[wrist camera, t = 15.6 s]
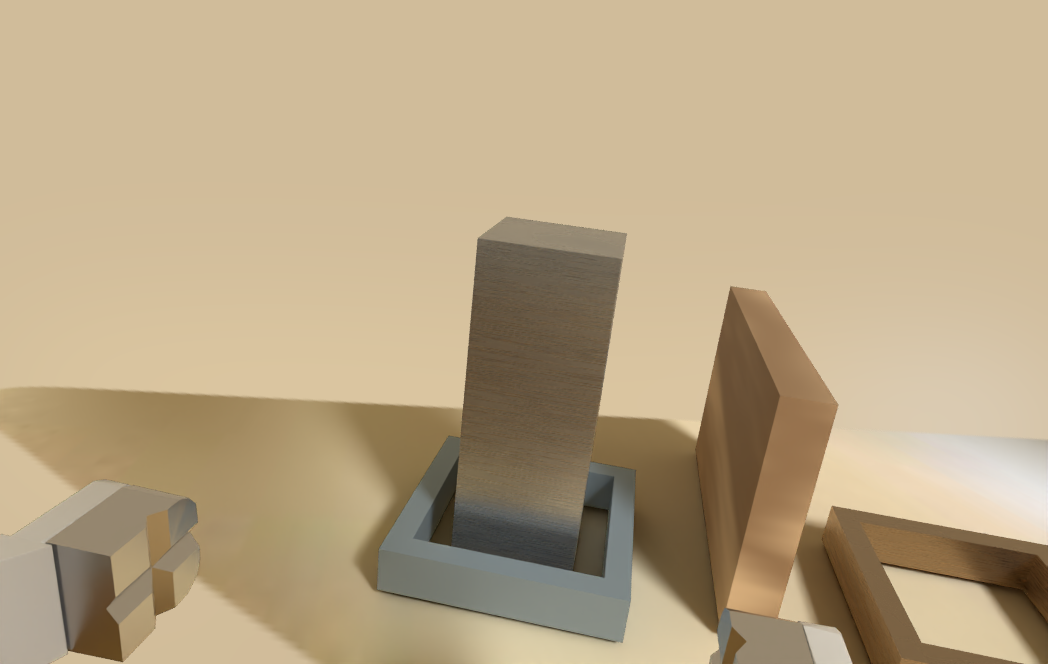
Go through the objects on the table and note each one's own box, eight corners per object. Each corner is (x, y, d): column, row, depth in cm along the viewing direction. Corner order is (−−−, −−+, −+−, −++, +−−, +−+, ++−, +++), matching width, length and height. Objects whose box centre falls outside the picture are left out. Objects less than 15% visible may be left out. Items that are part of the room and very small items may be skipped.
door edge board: (727, 454, 32) (765, 291, 29) (770, 642, 21) (838, 404, 18) (695, 449, 32) (730, 286, 29) (720, 632, 21) (780, 395, 18)
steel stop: (580, 520, 26) (627, 233, 22) (569, 591, 22) (622, 258, 18) (478, 500, 26) (506, 216, 23) (449, 566, 22) (478, 238, 19)
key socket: (1034, 579, 25) (1049, 545, 25) (1185, 764, 18) (1210, 722, 18) (821, 539, 26) (831, 506, 26) (886, 700, 19) (901, 658, 19)
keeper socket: (629, 502, 27) (635, 470, 27) (622, 642, 20) (630, 601, 19) (446, 467, 28) (448, 435, 28) (377, 589, 21) (378, 549, 20)
